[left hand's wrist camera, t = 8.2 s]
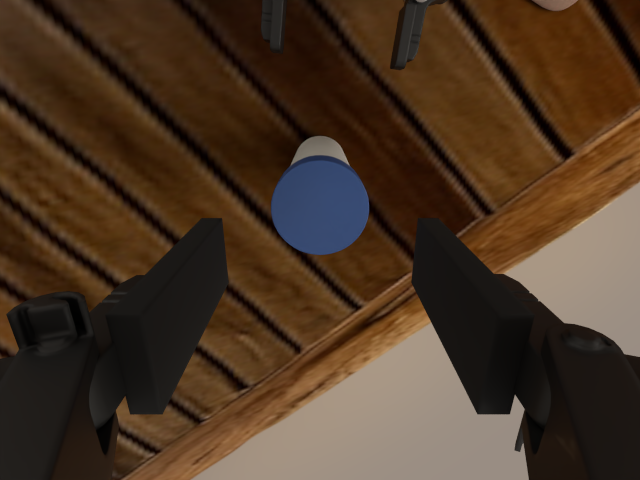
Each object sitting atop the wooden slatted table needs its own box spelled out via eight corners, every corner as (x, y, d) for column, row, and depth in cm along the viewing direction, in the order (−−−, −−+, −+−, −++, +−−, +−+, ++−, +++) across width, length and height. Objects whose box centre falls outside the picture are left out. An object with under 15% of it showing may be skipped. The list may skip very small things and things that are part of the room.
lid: (355, 247, 22) (358, 261, 20) (270, 235, 22) (266, 247, 20) (373, 162, 20) (378, 169, 18) (280, 147, 20) (276, 152, 18)
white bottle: (340, 190, 35) (354, 253, 21) (291, 182, 35) (271, 241, 20) (349, 140, 33) (372, 171, 19) (298, 131, 33) (281, 156, 19)
